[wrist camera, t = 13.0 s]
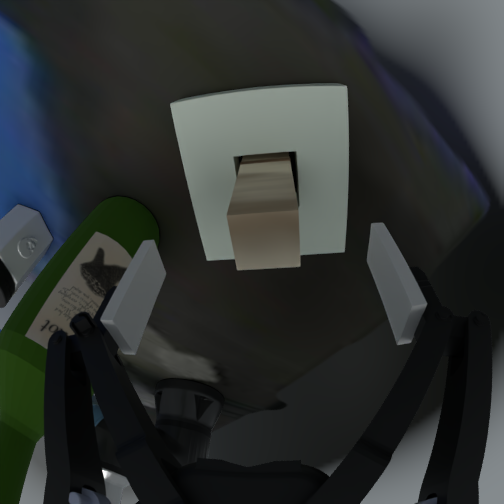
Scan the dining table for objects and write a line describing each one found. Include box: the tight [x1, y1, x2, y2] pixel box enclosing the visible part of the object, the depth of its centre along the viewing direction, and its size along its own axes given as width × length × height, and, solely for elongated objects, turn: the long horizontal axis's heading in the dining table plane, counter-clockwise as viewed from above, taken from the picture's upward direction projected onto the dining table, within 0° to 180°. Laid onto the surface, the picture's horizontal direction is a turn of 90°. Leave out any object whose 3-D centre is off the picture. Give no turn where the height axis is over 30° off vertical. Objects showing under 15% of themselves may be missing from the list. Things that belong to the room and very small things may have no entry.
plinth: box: [170, 83, 349, 261], centre depth 25 cm, size 16×14×3 cm
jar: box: [0, 204, 53, 308], centre depth 28 cm, size 9×8×12 cm
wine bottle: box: [0, 196, 159, 504], centre depth 19 cm, size 9×9×32 cm
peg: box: [226, 152, 300, 270], centre depth 22 cm, size 4×4×12 cm
